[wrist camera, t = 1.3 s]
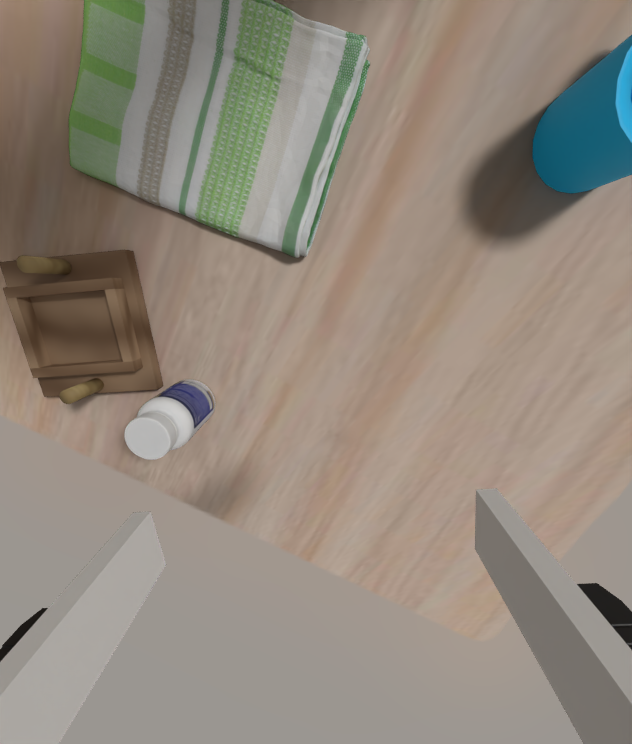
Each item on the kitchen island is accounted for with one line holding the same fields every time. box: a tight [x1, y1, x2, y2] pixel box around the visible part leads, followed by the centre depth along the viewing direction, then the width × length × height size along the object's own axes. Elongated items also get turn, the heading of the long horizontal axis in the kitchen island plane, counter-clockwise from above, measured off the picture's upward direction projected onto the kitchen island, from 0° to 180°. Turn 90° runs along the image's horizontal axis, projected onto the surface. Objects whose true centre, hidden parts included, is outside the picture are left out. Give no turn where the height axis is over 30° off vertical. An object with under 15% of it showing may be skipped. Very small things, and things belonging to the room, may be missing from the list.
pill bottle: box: [125, 379, 215, 460], centre depth 30 cm, size 5×5×9 cm
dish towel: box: [69, 0, 370, 258], centre depth 26 cm, size 17×23×4 cm
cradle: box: [0, 250, 163, 404], centre depth 30 cm, size 14×13×5 cm
